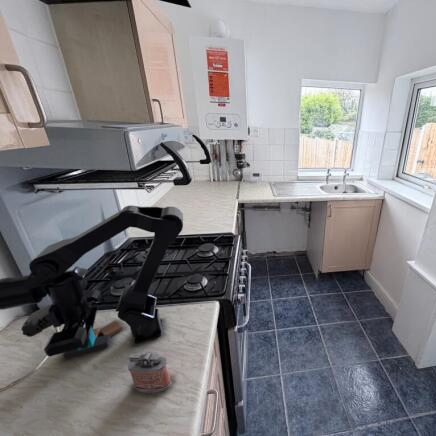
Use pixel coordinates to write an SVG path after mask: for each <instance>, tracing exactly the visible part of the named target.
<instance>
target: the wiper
mask: <svg viewBox="0 0 436 436" xmlns="http://www.w3.org/2000/svg"><path fill="white" fill-rule="evenodd" d="M110 341H111V337H110V335H109V334H108V335H105V336H104V335H102V336H99V337H97V338H95V335H94V332H93V330H92V327H91V331H90V336H89V342H88V347H87V348H84V349H81V348H78V349H75V350H71V351H68V352H64V353H62V354H63V355H62V356H63V359H64V360H67V359H70V358H74V357H77V356H81V355H84V354H88V353H91V352H94V351H97V350H101V349H104V348H108V347H109V345H110Z"/></svg>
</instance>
